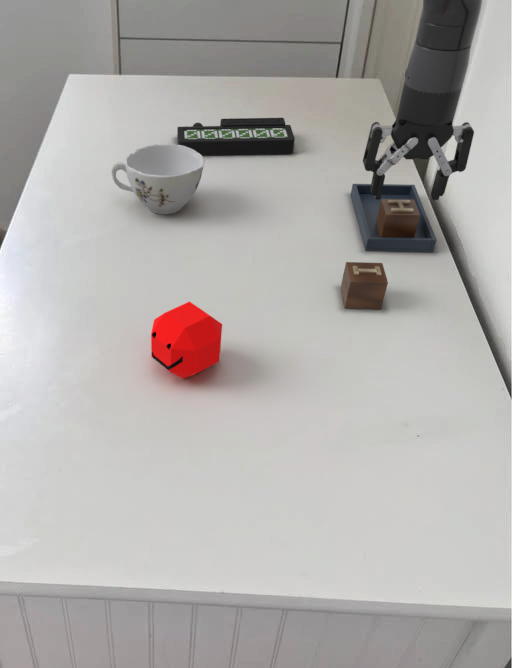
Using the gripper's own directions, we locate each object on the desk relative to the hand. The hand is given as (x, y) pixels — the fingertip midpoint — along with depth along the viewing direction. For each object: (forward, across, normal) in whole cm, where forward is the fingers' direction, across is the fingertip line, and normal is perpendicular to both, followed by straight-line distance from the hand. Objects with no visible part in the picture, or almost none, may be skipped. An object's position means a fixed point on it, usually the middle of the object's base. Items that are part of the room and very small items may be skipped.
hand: (405, 197), depth 108 cm
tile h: (+6, 0, 0) cm, 6 cm away
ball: (+6, -32, -34) cm, 47 cm away
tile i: (+6, -8, -18) cm, 21 cm away
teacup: (+6, -38, +8) cm, 39 cm away
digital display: (+6, -25, +33) cm, 42 cm away
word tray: (+6, 0, +4) cm, 7 cm away
